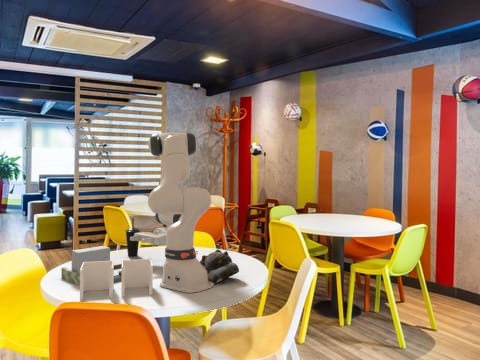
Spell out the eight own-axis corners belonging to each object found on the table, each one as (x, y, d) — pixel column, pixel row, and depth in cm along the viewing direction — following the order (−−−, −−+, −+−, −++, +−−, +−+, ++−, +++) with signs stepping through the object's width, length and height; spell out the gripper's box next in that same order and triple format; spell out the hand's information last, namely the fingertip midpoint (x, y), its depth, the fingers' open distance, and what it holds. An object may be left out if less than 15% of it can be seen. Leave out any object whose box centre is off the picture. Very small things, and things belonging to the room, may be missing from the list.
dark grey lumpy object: (209, 286, 155) (197, 253, 158) (205, 289, 165) (194, 258, 169) (243, 272, 159) (230, 241, 163) (237, 276, 170) (226, 247, 174)
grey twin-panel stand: (150, 286, 154) (150, 258, 154) (152, 295, 144) (152, 265, 143) (83, 290, 147) (83, 262, 147) (79, 300, 137) (79, 269, 137)
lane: (138, 272, 173) (138, 263, 173) (78, 285, 153) (78, 275, 153) (119, 266, 184) (119, 257, 184) (61, 277, 164) (61, 267, 164)
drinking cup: (137, 257, 201) (138, 219, 201) (123, 257, 201) (123, 219, 201) (141, 254, 209) (142, 217, 208) (127, 254, 209) (128, 217, 208)
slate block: (109, 275, 168) (110, 247, 168) (78, 282, 158) (78, 252, 158) (103, 272, 172) (103, 245, 172) (71, 279, 162) (71, 250, 162)
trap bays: (130, 278, 163) (130, 275, 163) (111, 283, 157) (111, 279, 157) (98, 266, 182) (98, 263, 182) (79, 270, 176) (79, 266, 176)
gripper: (148, 228, 198) (124, 231, 187) (173, 232, 184) (149, 235, 174) (148, 240, 198) (124, 244, 187) (173, 245, 184) (148, 249, 174)
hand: (136, 240), depth 180 cm, fingers open, 8 cm apart
